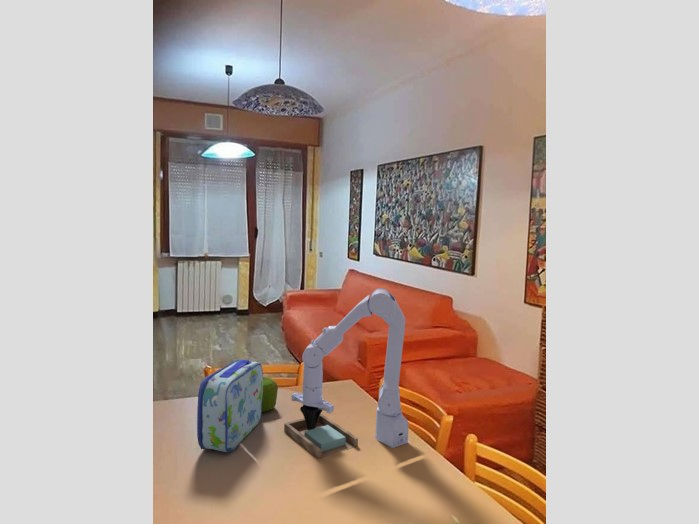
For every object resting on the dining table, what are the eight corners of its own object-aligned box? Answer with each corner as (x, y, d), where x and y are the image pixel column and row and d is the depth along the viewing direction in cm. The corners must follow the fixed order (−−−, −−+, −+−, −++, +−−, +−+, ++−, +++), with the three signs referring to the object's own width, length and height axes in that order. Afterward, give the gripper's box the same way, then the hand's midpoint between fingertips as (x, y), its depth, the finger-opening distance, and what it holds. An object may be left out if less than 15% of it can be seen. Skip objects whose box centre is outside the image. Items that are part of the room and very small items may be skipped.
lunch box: (234, 415, 150) (235, 351, 148) (266, 419, 148) (267, 354, 146) (191, 455, 124) (191, 378, 122) (228, 460, 122) (229, 383, 120)
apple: (236, 412, 152) (237, 380, 151) (253, 400, 162) (253, 370, 161) (268, 418, 149) (268, 385, 148) (282, 405, 159) (283, 374, 158)
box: (357, 448, 131) (358, 438, 131) (318, 461, 123) (318, 450, 123) (321, 423, 146) (321, 413, 146) (284, 433, 139) (284, 423, 138)
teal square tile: (345, 444, 132) (345, 437, 131) (321, 452, 127) (321, 444, 127) (327, 432, 139) (327, 424, 139) (304, 438, 134) (304, 431, 134)
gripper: (340, 387, 136) (339, 431, 138) (302, 376, 145) (301, 418, 146) (325, 394, 131) (324, 440, 132) (287, 382, 139) (286, 426, 140)
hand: (311, 429), depth 139 cm, fingers closed
